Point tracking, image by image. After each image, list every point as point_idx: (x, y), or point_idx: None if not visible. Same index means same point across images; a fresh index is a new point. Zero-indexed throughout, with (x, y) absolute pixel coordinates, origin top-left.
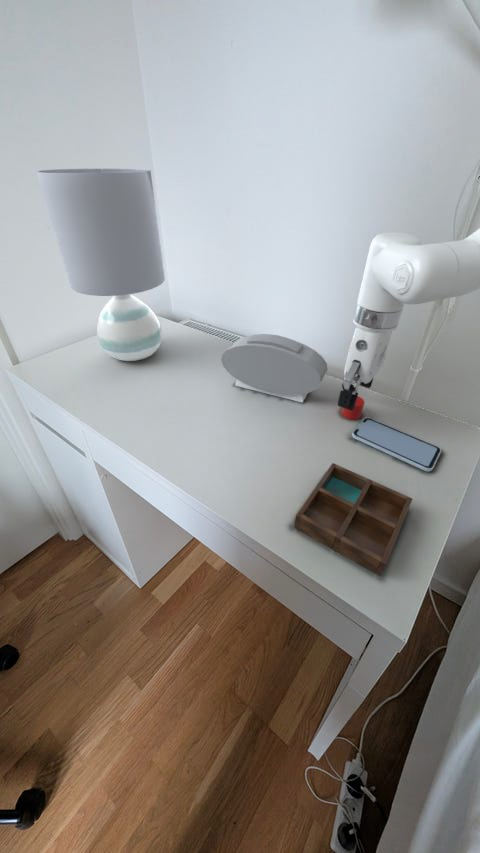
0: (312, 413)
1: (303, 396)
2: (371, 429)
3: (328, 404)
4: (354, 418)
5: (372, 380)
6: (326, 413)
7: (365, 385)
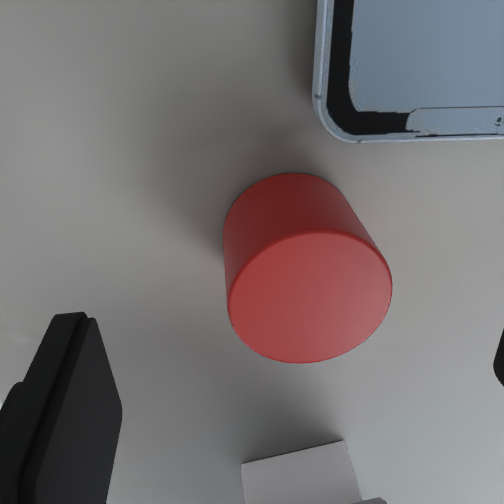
0: (406, 374)
1: (335, 471)
2: (471, 26)
3: (276, 362)
4: (341, 195)
5: (40, 375)
6: None
7: (98, 356)
